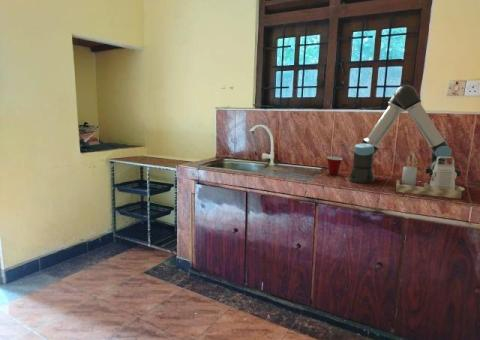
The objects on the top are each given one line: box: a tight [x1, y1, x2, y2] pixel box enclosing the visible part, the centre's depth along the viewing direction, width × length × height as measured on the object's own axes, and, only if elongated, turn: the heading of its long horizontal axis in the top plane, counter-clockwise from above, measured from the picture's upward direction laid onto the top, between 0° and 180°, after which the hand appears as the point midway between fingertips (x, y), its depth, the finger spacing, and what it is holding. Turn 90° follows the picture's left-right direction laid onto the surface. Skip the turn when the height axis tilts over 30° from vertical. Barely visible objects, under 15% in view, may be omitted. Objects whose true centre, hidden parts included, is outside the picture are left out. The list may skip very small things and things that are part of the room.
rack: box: [395, 179, 463, 200], centre depth 168 cm, size 30×14×4 cm, turn 63°
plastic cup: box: [326, 155, 343, 175], centre depth 216 cm, size 11×11×12 cm
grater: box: [428, 156, 456, 190], centre depth 164 cm, size 10×10×20 cm
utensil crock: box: [400, 153, 418, 186], centre depth 171 cm, size 7×7×20 cm
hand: (444, 175), depth 160 cm, fingers closed on grater, 9 cm apart
